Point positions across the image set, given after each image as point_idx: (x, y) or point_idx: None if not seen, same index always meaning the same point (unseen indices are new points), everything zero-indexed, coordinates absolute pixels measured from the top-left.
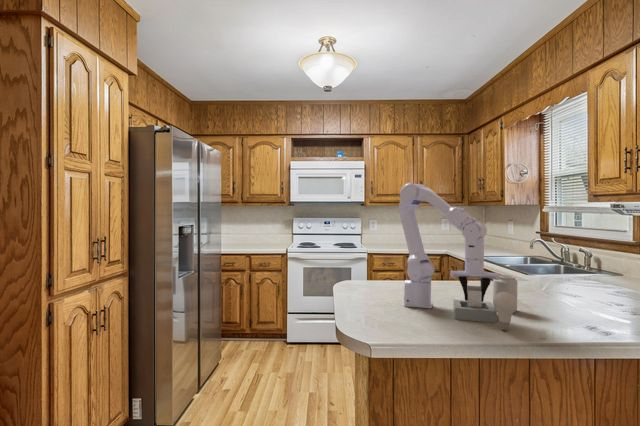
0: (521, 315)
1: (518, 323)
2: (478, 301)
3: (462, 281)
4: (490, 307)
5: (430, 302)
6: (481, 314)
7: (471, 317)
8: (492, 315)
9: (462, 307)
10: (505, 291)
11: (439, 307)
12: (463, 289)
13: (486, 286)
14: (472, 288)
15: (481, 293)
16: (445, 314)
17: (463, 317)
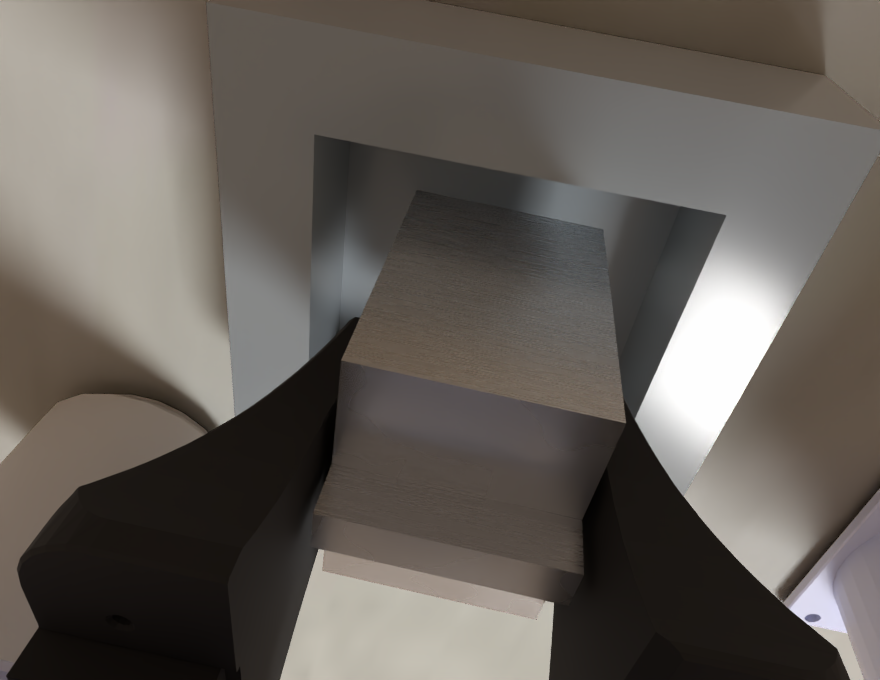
0: (13, 325)
1: (20, 11)
2: (437, 262)
3: (790, 653)
4: (275, 242)
5: (877, 566)
6: (456, 31)
7: (601, 46)
8: (297, 3)
9: (723, 185)
10: (11, 565)
11: (761, 511)
12: (683, 500)
13: (193, 461)
14: (488, 513)
15: (356, 332)
16: (841, 283)
17: (713, 64)
